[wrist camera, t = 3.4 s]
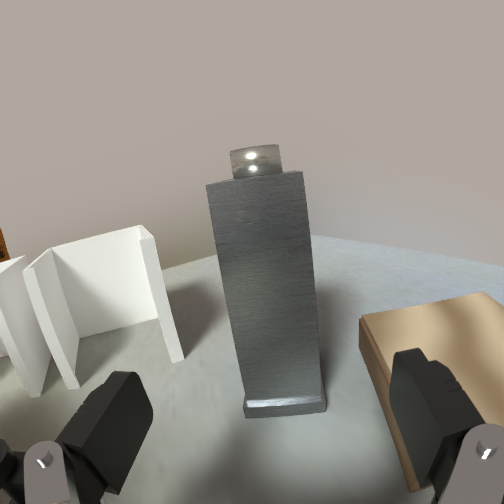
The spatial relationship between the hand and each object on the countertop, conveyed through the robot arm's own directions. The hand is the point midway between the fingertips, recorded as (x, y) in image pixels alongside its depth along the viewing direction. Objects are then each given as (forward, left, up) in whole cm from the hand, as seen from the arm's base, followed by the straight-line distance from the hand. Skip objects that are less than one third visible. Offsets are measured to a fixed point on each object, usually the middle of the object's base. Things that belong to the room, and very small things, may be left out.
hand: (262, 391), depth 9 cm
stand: (-12, -6, -8) cm, 16 cm away
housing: (0, -10, -8) cm, 13 cm away
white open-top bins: (+22, -12, -9) cm, 27 cm away
